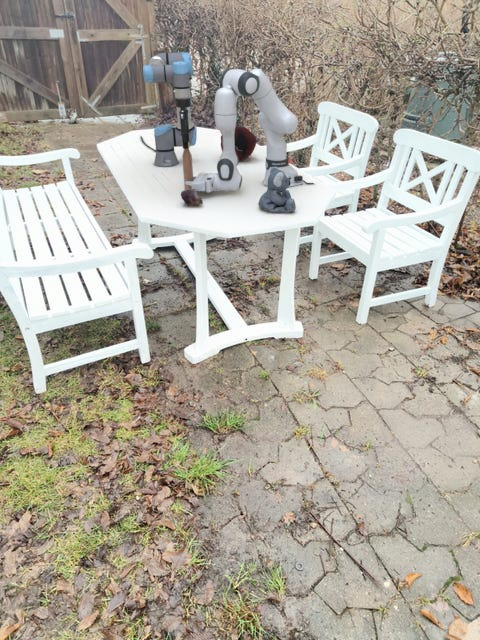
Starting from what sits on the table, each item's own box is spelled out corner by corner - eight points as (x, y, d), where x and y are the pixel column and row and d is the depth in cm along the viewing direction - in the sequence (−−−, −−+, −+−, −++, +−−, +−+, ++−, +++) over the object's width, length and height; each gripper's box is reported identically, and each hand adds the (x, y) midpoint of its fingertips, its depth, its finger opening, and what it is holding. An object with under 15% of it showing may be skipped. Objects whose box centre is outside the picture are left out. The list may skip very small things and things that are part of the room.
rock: (196, 202, 238) (178, 205, 233) (194, 185, 234) (176, 188, 230) (205, 205, 228) (187, 208, 224) (203, 188, 224) (185, 191, 220)
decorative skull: (217, 132, 306) (217, 129, 282) (251, 124, 305) (253, 121, 281) (224, 164, 313) (224, 164, 289) (257, 157, 312) (260, 156, 288)
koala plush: (296, 213, 220) (299, 173, 208) (260, 215, 219) (260, 174, 207) (290, 201, 234) (292, 163, 223) (256, 202, 233) (256, 164, 222)
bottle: (193, 190, 250) (190, 142, 235) (194, 193, 245) (191, 144, 231) (184, 191, 249) (181, 142, 234) (185, 194, 245) (181, 145, 230)
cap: (190, 146, 235) (190, 141, 233) (188, 148, 232) (188, 143, 230) (184, 146, 235) (183, 141, 234) (181, 147, 232) (181, 143, 231)
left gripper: (177, 95, 227) (181, 143, 241) (172, 100, 214) (176, 151, 227) (192, 95, 227) (195, 143, 240) (188, 100, 213) (191, 151, 227)
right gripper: (215, 170, 249) (191, 169, 250) (208, 181, 232) (182, 180, 234) (215, 181, 252) (191, 180, 254) (208, 193, 235) (183, 192, 237)
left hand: (186, 147), depth 234 cm, fingers closed on cap, 4 cm apart
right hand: (187, 180), depth 244 cm, fingers closed on bottle, 5 cm apart
